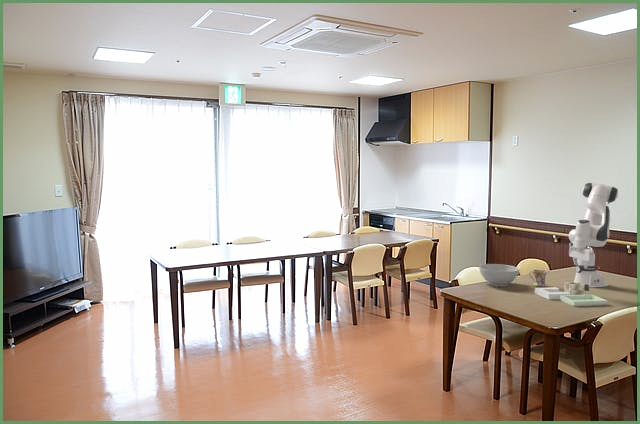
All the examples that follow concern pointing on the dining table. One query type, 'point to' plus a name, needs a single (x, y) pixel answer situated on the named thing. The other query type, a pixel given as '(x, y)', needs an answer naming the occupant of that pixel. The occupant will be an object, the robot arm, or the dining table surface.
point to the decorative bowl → (498, 274)
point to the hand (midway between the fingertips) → (580, 266)
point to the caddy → (575, 288)
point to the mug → (539, 278)
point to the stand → (550, 293)
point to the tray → (583, 300)
